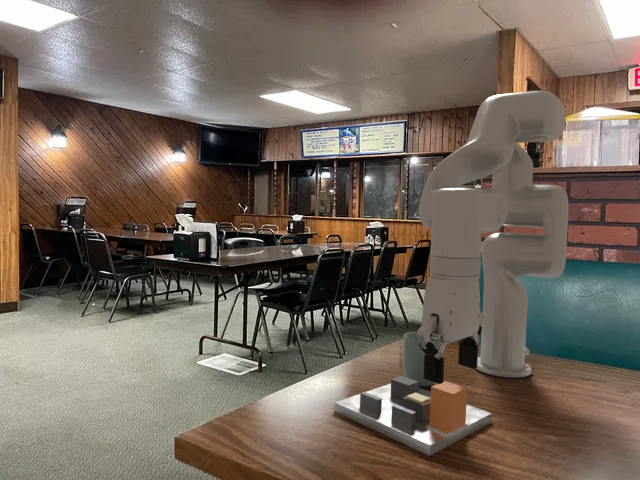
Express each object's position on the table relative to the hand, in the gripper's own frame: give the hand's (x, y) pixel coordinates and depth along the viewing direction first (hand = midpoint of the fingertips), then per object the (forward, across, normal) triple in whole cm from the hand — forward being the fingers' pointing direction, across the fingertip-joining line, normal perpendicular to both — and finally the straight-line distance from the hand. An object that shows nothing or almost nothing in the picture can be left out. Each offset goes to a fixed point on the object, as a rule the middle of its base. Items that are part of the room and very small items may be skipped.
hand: (451, 373), depth 77 cm
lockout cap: (+8, +1, 0) cm, 8 cm away
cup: (+11, -15, -17) cm, 25 cm away
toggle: (+8, -3, -12) cm, 15 cm away
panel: (+10, 0, -8) cm, 13 cm away
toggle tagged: (+8, +2, -5) cm, 10 cm away
